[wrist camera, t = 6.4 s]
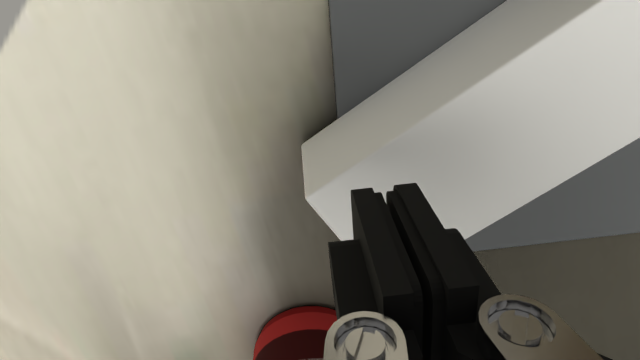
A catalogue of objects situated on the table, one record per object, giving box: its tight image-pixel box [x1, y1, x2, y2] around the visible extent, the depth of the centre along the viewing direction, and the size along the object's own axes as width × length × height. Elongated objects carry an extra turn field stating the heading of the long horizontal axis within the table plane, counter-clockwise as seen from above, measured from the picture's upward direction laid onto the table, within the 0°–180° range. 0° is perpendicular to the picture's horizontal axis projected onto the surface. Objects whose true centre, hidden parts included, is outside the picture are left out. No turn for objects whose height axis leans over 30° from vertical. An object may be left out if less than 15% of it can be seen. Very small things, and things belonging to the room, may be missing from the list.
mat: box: [328, 0, 640, 251], centre depth 22 cm, size 20×22×1 cm
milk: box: [301, 0, 640, 241], centre depth 18 cm, size 6×6×22 cm
